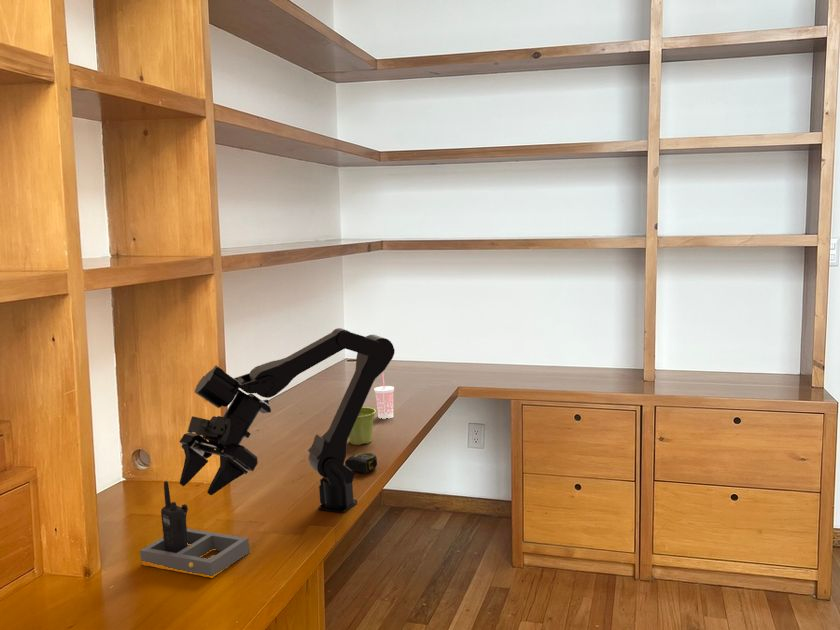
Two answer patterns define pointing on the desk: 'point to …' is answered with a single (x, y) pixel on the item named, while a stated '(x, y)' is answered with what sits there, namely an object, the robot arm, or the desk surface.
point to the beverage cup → (384, 400)
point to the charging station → (198, 552)
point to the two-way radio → (173, 524)
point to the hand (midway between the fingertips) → (195, 489)
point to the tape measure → (362, 462)
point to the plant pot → (363, 427)
